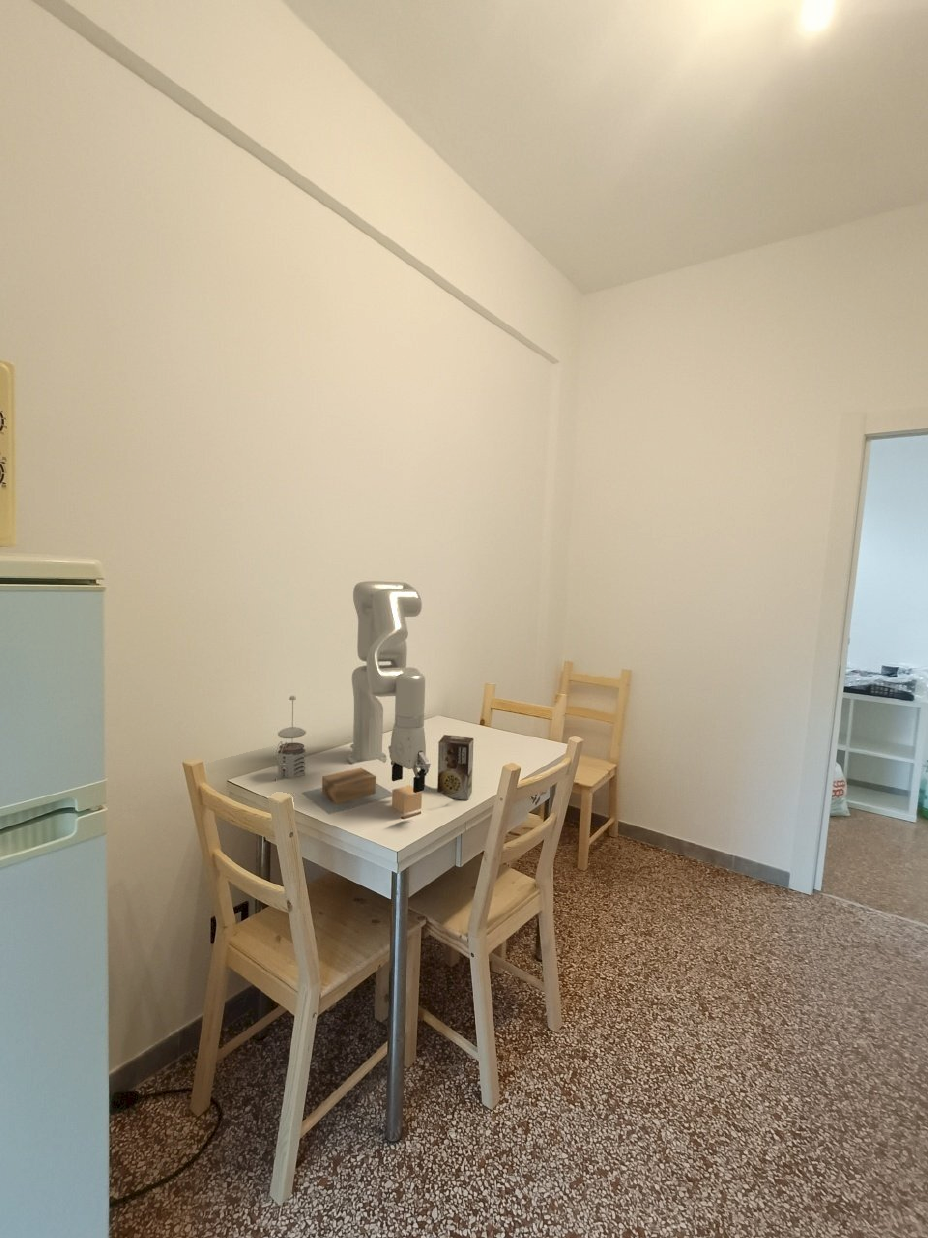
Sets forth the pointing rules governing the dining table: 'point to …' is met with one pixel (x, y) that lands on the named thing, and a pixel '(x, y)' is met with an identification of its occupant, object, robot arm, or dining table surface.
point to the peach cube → (406, 800)
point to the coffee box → (455, 766)
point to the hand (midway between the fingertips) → (407, 785)
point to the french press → (291, 752)
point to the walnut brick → (348, 785)
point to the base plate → (332, 807)
